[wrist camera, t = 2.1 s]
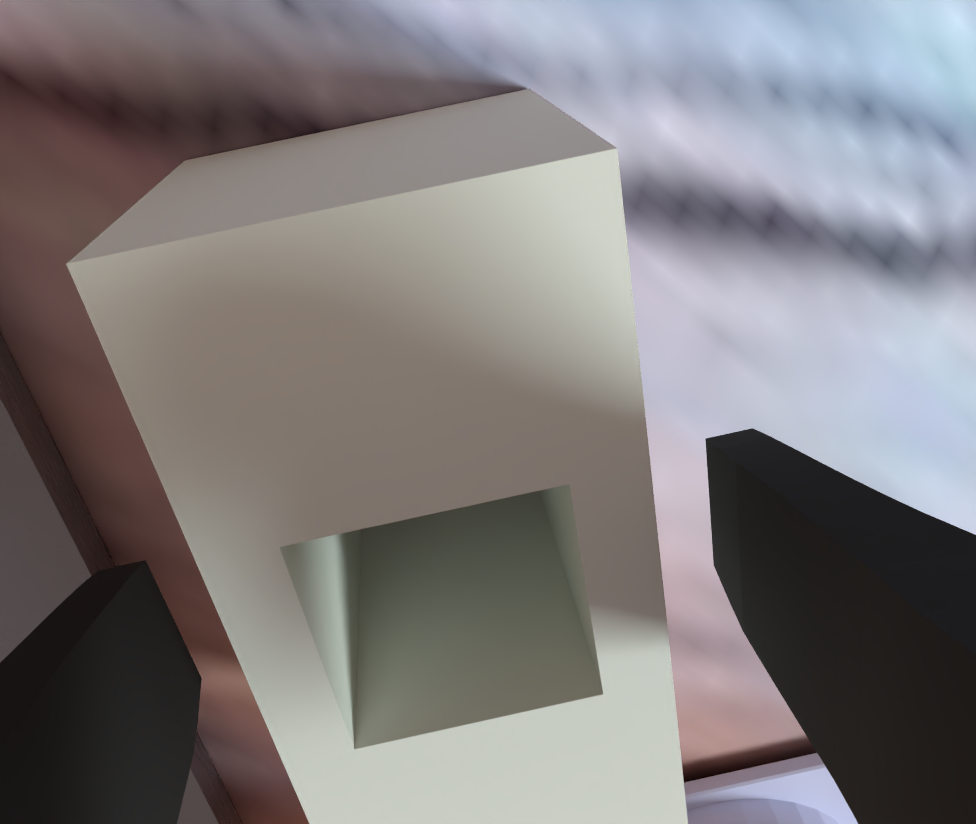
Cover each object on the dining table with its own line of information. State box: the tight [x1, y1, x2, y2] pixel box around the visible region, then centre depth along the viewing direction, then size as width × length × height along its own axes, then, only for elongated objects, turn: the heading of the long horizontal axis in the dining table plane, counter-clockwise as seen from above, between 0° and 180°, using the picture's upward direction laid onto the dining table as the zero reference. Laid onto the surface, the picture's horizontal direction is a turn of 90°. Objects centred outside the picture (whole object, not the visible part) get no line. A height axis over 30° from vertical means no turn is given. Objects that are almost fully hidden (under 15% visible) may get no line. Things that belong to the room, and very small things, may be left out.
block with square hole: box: [66, 89, 688, 824], centre depth 12 cm, size 10×5×5 cm, turn 10°
